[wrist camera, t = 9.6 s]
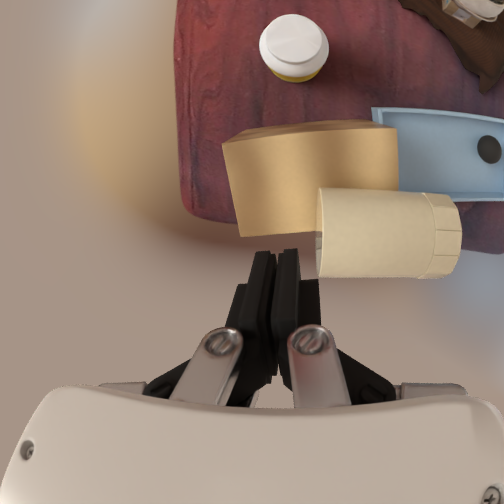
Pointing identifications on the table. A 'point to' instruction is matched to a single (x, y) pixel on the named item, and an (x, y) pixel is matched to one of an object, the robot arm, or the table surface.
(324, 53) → the pill bottle
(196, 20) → the table surface
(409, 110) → the tray
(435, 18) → the potted plant
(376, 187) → the plinth
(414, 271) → the jar
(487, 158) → the ball
